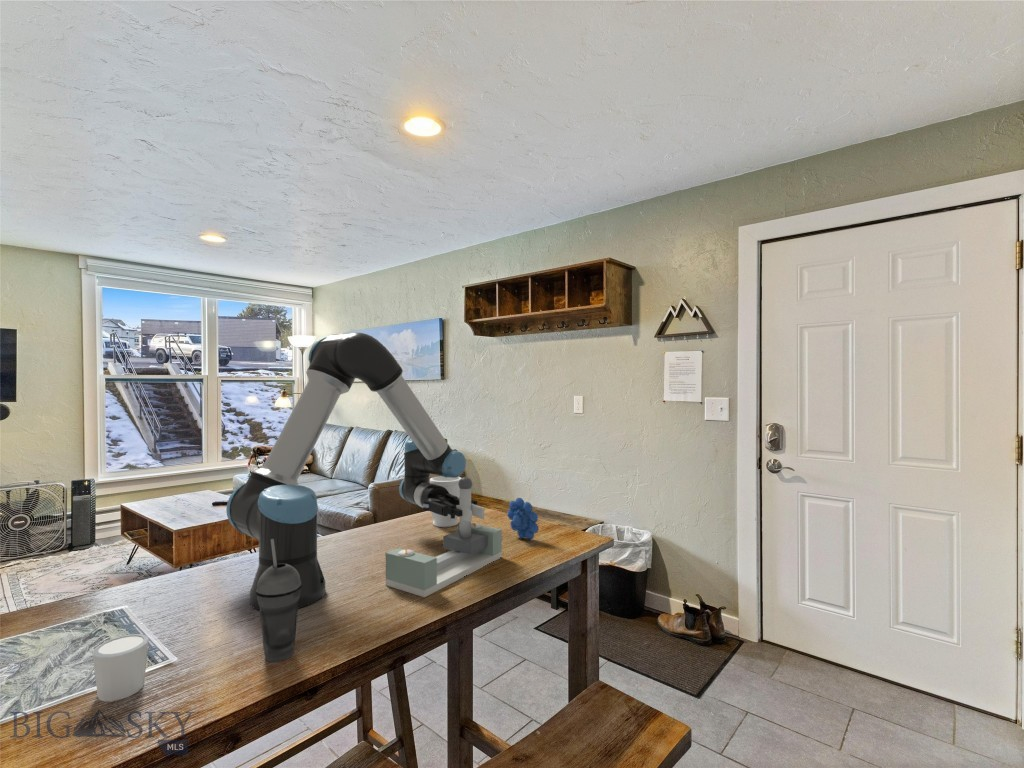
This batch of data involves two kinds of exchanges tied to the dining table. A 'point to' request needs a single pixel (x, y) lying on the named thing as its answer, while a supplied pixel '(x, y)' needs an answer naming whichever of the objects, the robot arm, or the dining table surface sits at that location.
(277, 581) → the beverage cup
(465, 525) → the carriage
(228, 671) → the dining table surface
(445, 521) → the jar
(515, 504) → the grapes
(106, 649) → the white cylinder
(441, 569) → the rail stand
